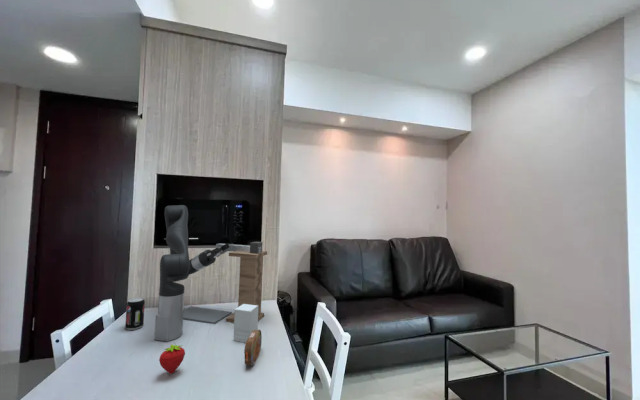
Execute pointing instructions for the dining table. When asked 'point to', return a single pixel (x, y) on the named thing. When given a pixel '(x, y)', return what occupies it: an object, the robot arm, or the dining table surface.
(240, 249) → the steel bar
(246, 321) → the supplement box
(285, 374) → the dining table surface
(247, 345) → the tin
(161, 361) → the strawberry
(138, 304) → the beverage can
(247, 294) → the walnut shelf stand
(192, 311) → the charcoal mat
